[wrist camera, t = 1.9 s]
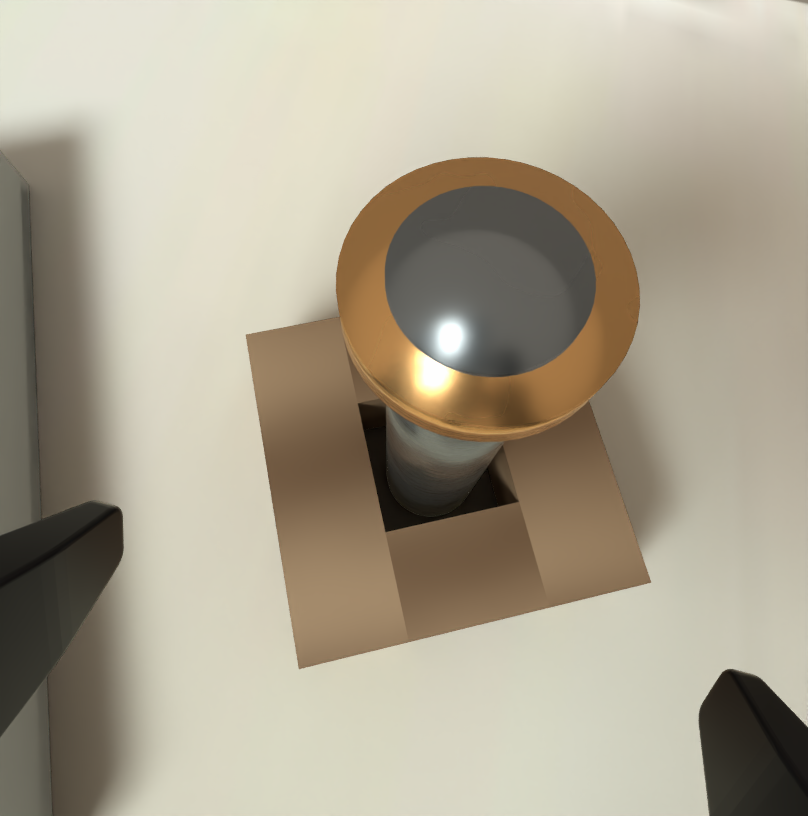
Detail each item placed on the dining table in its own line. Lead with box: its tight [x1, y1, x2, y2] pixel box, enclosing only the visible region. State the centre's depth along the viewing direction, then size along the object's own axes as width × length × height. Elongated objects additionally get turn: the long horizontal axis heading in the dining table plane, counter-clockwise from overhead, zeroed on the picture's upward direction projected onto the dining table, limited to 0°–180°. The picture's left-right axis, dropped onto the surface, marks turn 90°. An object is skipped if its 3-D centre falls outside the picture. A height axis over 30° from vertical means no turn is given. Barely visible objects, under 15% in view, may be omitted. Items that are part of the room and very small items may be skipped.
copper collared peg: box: [336, 157, 640, 517], centre depth 15 cm, size 4×4×13 cm
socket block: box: [246, 317, 651, 669], centre depth 19 cm, size 10×10×3 cm
